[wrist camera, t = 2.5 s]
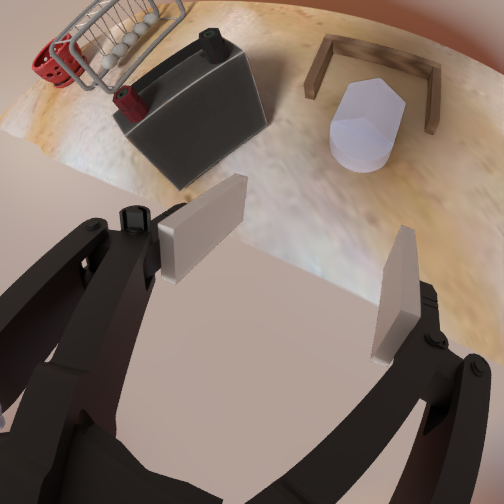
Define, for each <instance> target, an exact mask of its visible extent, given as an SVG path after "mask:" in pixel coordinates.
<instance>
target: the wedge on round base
mask: <svg viewBox="0 0 504 504" xmlns="http://www.w3.org/2000/svg"><path fill="white" fill-rule="evenodd" d="M405 104H406V103H405V102H404V101H403V100H402V99H401V98H400V97H399V96H398V95H397V94H396V93H395V92H394V91H393V90H392V89H391V88H390V87H389V86H388V85H387V84H386V83H385V82H384V81H383V80H382V79H381V78H375V79H369V80H364V81H359V82H354V83H349V85H348V88H347V90H346V92H345V94H344V96H343V98H342V100H341V103H340V105H339V107H338V109H337V111H336V113H335V115H334V118H333V120H332V122H331V125H330V150H331V153H332V155H333V157H334V158H335V159H336V161H337V162H338V163H339V164H341V165H342V166H343V167H345V168H347V169H349V170H351V171H355V172H360V173H368V172H373V171H376V170H378V169H380V168H381V167H383V166H384V165H385V164H386V162H387V161H388V159H389V156H390V153H391V151H392V148H393V145H394V142H395V138H396V135H397V132H398V129H399V125H400V122H401V118H402V115H403V112H404V108H405Z"/></svg>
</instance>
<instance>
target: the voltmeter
mask: <svg viewBox="0 0 504 504" xmlns="http://www.w3.org/2000/svg"><path fill="white" fill-rule="evenodd" d="M113 102H114V104H115V105H116V106H117V107H118V108H119V110H118V111H116V112H115V113H114V114H113V115H112V117H113V119H114V120H115V122H116V123H117V125H118V127H119V128H120V130H121V131H122V133H123V135H124V136H125V137H126V138H127V139H128V140H129V141H130V142H131V143H132V144H133V145H134V146H135V147H136V148H137V149H138V150H139V151H140V152H141V153H142V154H143V155H144V156H145V157H146V158H147V159H148V160H149V161H150V162H151V163H152V164H153V165H154V166H155V167H156V168H157V169H158V170H159V171H160V172H161V173H162V174H163V175H164V176H165V177H166V178H167V179H168V180H169V181H170V182H171V183H172V184H173V185H174V186H175V187H176V188H177V189H178V190H179V191H181V190H182V189H183V188H185V187H186V186H187V185H188V184H190V183H191V182H192V181H193V180H195V179H196V178H197V177H198V176H200V175H201V174H202V173H203V172H205V171H206V170H207V169H209V168H210V167H211V166H212V165H214V164H215V163H216V162H218V161H219V160H220V159H222V158H223V157H224V156H226V155H227V154H228V153H230V152H231V151H232V150H234V149H235V148H236V147H238V146H239V145H240V144H242V143H243V142H245V141H246V140H247V139H249V138H250V137H252V136H253V135H254V134H256V133H257V132H259V131H260V130H261V129H263V128H264V127H266V126H267V125H268V124H267V121H266V117H265V114H264V110H263V107H262V103H261V100H260V97H259V93H258V90H257V87H256V83H255V80H254V77H253V74H252V71H251V67H250V64H249V61H248V58H247V55H246V52H245V50H243V49H242V48H240V47H238V46H237V45H235V44H233V43H232V42H230V41H228V40H227V39H225V38H223V37H222V36H221V34H220V31H219V29H218V28H208V29H206V30H204V31H202V32H201V33H199V39H198V40H196V41H194V42H193V43H191V44H189V45H188V46H186V47H185V48H183V49H181V50H180V51H178V52H177V53H175V54H174V55H172V56H171V57H169V58H168V59H166V60H165V61H163V62H162V63H160V64H159V65H158V66H156V67H155V68H153V69H152V70H151V71H149V72H148V73H147V74H145V75H144V76H143V77H141V78H140V79H139V80H137V81H136V82H135V83H133V84H132V85H131V86H122V87H121V88H120V89H119V90H117V91H116V92H115V93H114V96H113Z"/></svg>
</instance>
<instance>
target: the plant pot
mask: <svg viewBox="0 0 504 504" xmlns="http://www.w3.org/2000/svg"><path fill="white" fill-rule="evenodd" d="M56 38H57V37H56ZM56 38H55V39H56ZM71 38H72V36H71V35H70V34H69V33H67V35H66V36H65V37H64V38H63V39H62V40H61V41H65V40H70V39H71ZM55 39H53V40H52V41H51V42H49V43H48V44H47V45H46V46H45V47H44V48H43V49H42V50H41V51H40V53H39V54H38V55H37V57H36V58H35V60H34V62H33V64H32V69H33V71H34V72H35V73H37V74H38V75H39V76H41V77H42V78H43V79H45V80H46V81H49V82H51V83H53V84H54V87H56V88H63V87H66V86H68V85H69V84H71V83H72V82H73V81H75V80H74V79H73V78H72V77H71V76H70V75H69V74H68V73H67V72H66V71H65V70H64V69H63V68H62V67H61V66H60V65H59V64H58V63H57V62H56V61H55V59H54V58H53V57H50V53H49V47H50V45H51V43H52V42H53V41H54V40H55ZM69 44H70V41H69V42H65V43H57V44H56V45H55V47H54V48H56V50H55V53H56V54H57V55H58V56H59V57H60V58H61V59H62V60H63V61H64V62H65V63H66V64H67V66H68V67H69V68H70V69H71V70H72V71H73V72H74V73H75V74H76V75H77V76H78V77H79V76H80V75H81V73H82V72H83V70H84V68H83V67H82V66H81V65H80V63H79V62H78V61H77V60H76V59H75V58H74V57H73V56H72V55H71V53H70V51H69ZM74 47H75V50H76V51H77V52H78V53H79V54H80V56H81V57H82V58H83V59H84V60H85V61H86V62H87V59H86V57H85V56H82V54H81V50H80V48H79V46H78V44H77V43H75V46H74ZM59 48H60V50H59V51H58V49H59ZM45 57H47V61H44V58H45ZM41 64H43V65H41Z"/></svg>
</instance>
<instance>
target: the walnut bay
mask: <svg viewBox="0 0 504 504" xmlns="http://www.w3.org/2000/svg"><path fill="white" fill-rule="evenodd" d="M333 53H335V54H340V55H344V56H349V57H353V58H358V59H362V60H366V61H370V62H374V63H378V64H381V65H385V66H388V67H392V68H395V69H398V70H402V71H405V72H408V73H411V74H414V75H417V76H420V77H423V78H426V79H428V80H429V84H428V99H427V111H426V121H425V131H424V132H426V133H429V134H431V135H433V134H434V132H435V130H436V128H437V126H438V124H439V120H440V100H441V64H438V63H435V62H433V61H430V60H427V59H424V58H421V57H418V56H415V55H412V54H409V53H406V52H403V51H399V50H396V49H393V48H389V47H385V46H382V45H378V44H374V43H370V42H366V41H361V40H357V39H352V38H347V37H342V36H337V35H331V34H326V35H325V37H324V39H323V42H322V44H321V46H320V48H319V50H318V53H317V55H316V57H315V59H314V62H313V64H312V66H311V68H310V70H309V73H308V75H307V77H306V79H305V82H304V89H305V98H309V99H313V100H315V97H316V95H317V92H318V90H319V87H320V85H321V82H322V80H323V77H324V75H325V72H326V69H327V67H328V64H329V62H330V59H331V57H332V54H333Z"/></svg>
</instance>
